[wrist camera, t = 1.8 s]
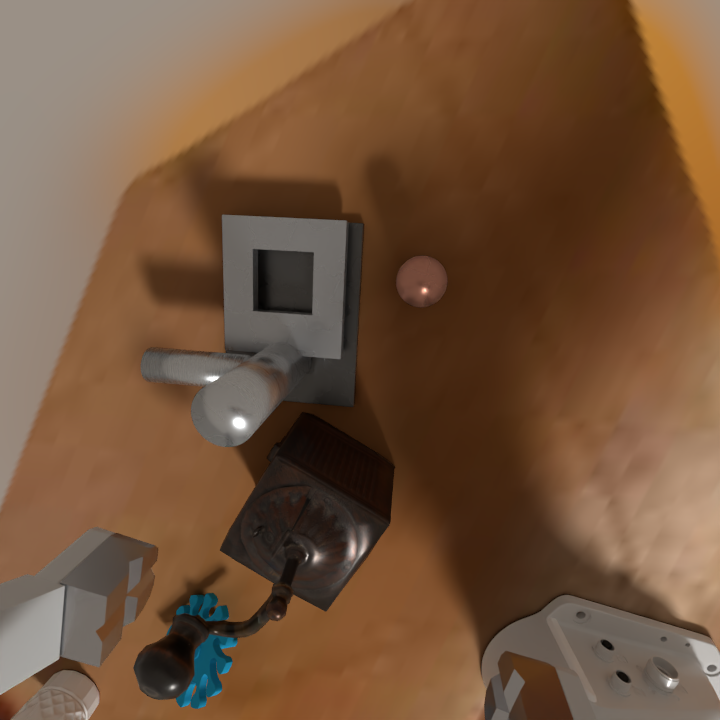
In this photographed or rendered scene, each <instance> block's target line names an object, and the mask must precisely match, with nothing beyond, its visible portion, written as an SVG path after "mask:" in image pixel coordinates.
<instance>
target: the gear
mask: <svg viewBox="0 0 720 720" xmlns="http://www.w3.org/2000/svg"><path fill="white" fill-rule="evenodd" d="M203 600H204V601H203ZM217 602H218V598H217V596H216V595H215V594H214V593H207V594H206V595H205V597H204V596H203V595H191V597H190V606H189V605H183V606H181V607H179V608H178V609H177V611H176V615H180V614H183V613H186V614H190V615H193V616H196V615H200V616H201V618H203V619H204V620H205V621H221V620H226V619H227V618H228V617H229V613H228V608H227V605H225V606H218V607H217V608H216V610H215V612H214V614H213V615H212V616H211V617H209V610H210V608H211V607H214V606H215V605H216V604H217ZM202 603H203V605H202ZM201 605H202V608H201V610H200V612H199V608H200V606H201ZM171 626H172V625H171ZM170 629H171V627H170V628H169V630H168V632H167V635H168V634H169V631H170ZM236 644H237V638H231V637H223V636H217V635H212V634H209V636H208V638H207V639H206V641H205V642H203V643H201V644H200V645H199V646H198V648H197V649H196V650H195V656H194V672H195V675H194V677H193V679H192V681H191V683H190V685H189V687H188V689H187V690H186V691H184V692H183V693H182V694H181V695H180V696H179V697H177V698H176V701H177V703H178V705H179V706H180V707H184V706H187V705H189V704H190V702H191V707H192V708H195V709H198V708H201V707H205V705H206V701H207V698H206V695H207V697H211V696H214V695H217V694H218V693H220V692H221V691H222V684H221V682H220V680H219V678H218V675H217V671H218V673H219V674H223V673H227V672H228V671H229V669H230V667H231V665H232V662H233V661H232V658H231V657H229V656H226V655H225V654H224V653H223V652H222V650H221V649H224V648H229V647H234V646H236ZM216 662H217V670H216ZM207 679H208V683H207ZM206 684H207V687H206ZM195 685H196V686H197V688H196V692H195V694H194V695H193V697H192V699H191V696H192V692H193V689H194V687H195Z"/></svg>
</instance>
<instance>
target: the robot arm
mask: <svg viewBox="0 0 720 720" xmlns="http://www.w3.org/2000/svg"><path fill="white" fill-rule="evenodd" d="M157 557H158V548H157V547H156V546H155V545H152V544H149V543H146V542H143V541H140V540H137V539H133V538H130V537H127V536H124V535H121V534H118V533H114V532H111V531H108V530H105V529H102V528H99V527H94V528H92V529H89V530H88V531H87V532H85V533H84V534H83V535H82V536H81V537H80V538H78V539H77V540H76V541H75V542H74V543H73V544H71V545H70V546H69V547H68V548H67V549H65V550H64V551H63V552H62V553H61V554H60V555H58V556H57V557H56V558H55V559H54V560H53V561H51V562H50V563H49V564H48V565H47V566H46V567H44V568H43V569H42V570H41V571H40V572H38V573H37V574H36V575H35V576H32V575H28V574H27V575H24V576H21V577H19V578H16V579H13V580H10V581H7V582H4V583H1V584H0V695H1V694H2V693H4V692H6V691H7V690H9V689H11V688H12V687H14V686H16V685H17V684H19V683H20V682H22V681H24V680H25V679H27V678H29V677H30V676H32V675H34V674H35V673H37V672H39V671H40V670H42V669H44V668H45V667H47V666H49V665H50V664H52V663H54V662H55V661H57V660H59V657H60V656H61V657H64V658H68V659H71V660H75V661H78V662H82V663H86V664H89V665H93V666H96V667H100V666H101V665H102V663H103V662H104V661H105V659H106V658H107V657H108V655H109V654H110V653H111V652H112V650H113V649H114V648H115V646H116V645H117V644H118V642H119V641H120V640H121V636H122V629H123V626H125V625H127V624H129V623H131V622H133V621H135V620H136V618H137V617H138V615H139V614H140V613H141V611H142V610H143V608H144V606H145V604H146V602H147V601H148V599H149V597H150V594H151V591H152V588H153V585H154V579H155V575H154V573H153V572H152V570H151V567H152V566H153V565H154V564H155V562H156V561H157ZM580 611H581V612H580ZM578 612H580V613H578ZM482 678H483V682H484V685H485V687H486V689H487V690H486V697H485V704H484V707H485V720H720V653H719V651H718V649H717V647H716V646H715V644H714V642H713V641H712V639H711V638H709V637H707V636H705V635H702V634H699V633H696V632H692V631H689V630H686V629H682V628H679V627H676V626H672V625H669V624H666V623H662V622H659V621H655V620H652V619H649V618H645V617H642V616H639V615H635V614H632V613H629V612H625V611H622V610H618V609H615V608H612V607H608V606H605V605H602V604H598V603H595V602H592V601H588V600H585V599H581V598H578V597H575V596H571V595H562V596H559V597H557V598H556V599H554V600H553V601H552V602H550V603H549V604H548V605H547V606H546V607H545V608H544V609H542V610H541V611H540V612H538V613H536V614H534V615H532V616H529V617H526V618H523V619H521V620H518V621H516V622H514V623H512V624H510V625H509V626H507V627H506V628H504V629H503V630H502V631H500V632H499V633H498V634H497V635H496V636H495V637H494V638H493V639H492V641H491V642H490V643H489V645H488V647H487V649H486V651H485V653H484V656H483V660H482Z"/></svg>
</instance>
